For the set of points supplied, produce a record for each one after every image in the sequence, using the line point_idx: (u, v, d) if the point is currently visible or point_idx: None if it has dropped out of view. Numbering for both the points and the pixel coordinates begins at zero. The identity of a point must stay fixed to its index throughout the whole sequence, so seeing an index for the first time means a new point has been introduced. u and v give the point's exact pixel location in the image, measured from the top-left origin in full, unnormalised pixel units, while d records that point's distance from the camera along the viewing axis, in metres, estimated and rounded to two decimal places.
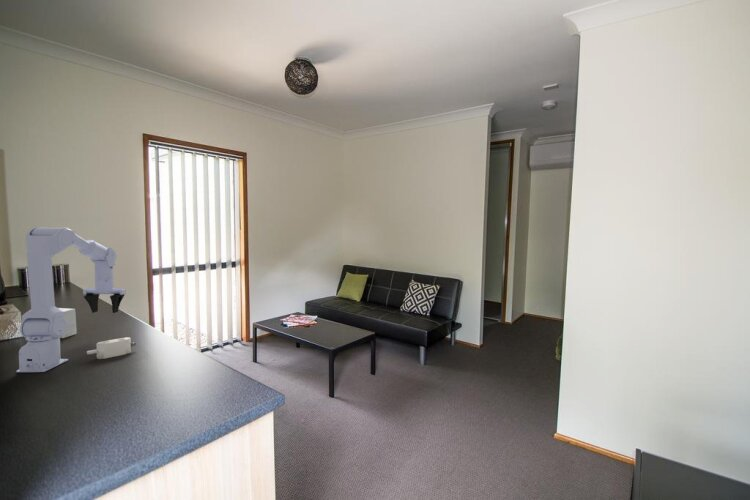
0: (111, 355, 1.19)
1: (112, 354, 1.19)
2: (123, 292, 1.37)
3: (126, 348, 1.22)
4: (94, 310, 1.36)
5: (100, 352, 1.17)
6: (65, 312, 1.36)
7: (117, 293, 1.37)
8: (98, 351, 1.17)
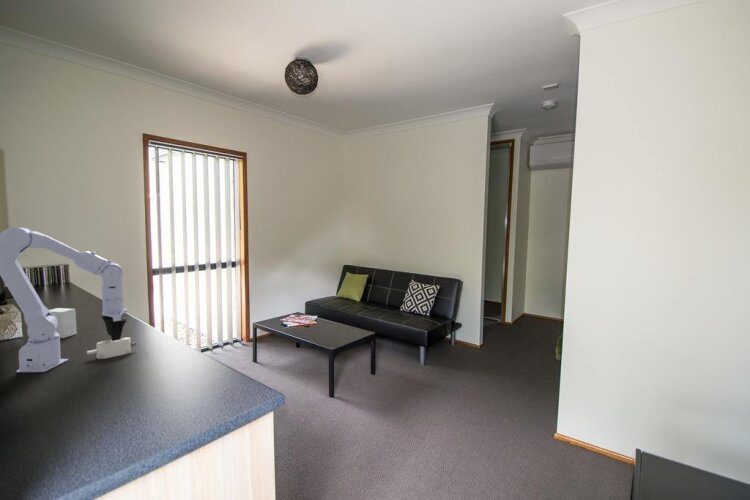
0: (111, 355, 1.19)
1: (112, 354, 1.19)
2: (116, 318, 1.14)
3: (126, 348, 1.22)
4: (110, 332, 1.22)
5: (100, 352, 1.17)
6: (65, 312, 1.36)
7: None
8: (98, 351, 1.17)
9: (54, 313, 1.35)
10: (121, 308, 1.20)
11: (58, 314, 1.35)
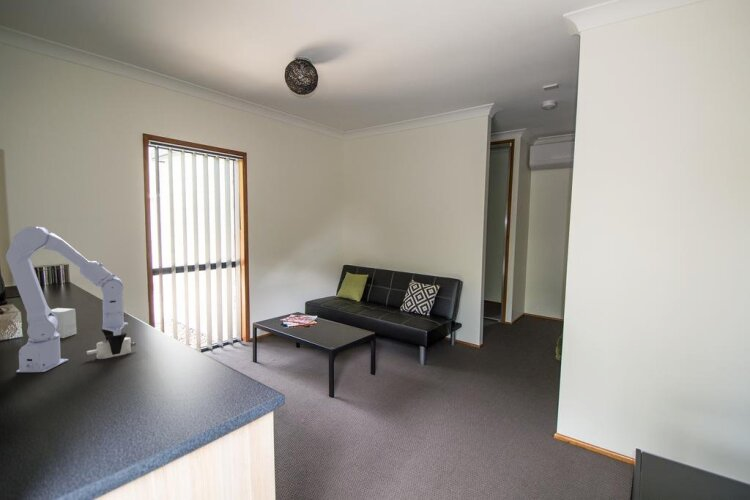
0: (111, 355, 1.19)
1: None
2: (116, 333, 1.15)
3: (126, 348, 1.22)
4: None
5: (100, 352, 1.17)
6: (65, 312, 1.36)
7: None
8: (98, 351, 1.17)
9: (54, 313, 1.35)
10: (121, 322, 1.20)
11: (58, 314, 1.35)
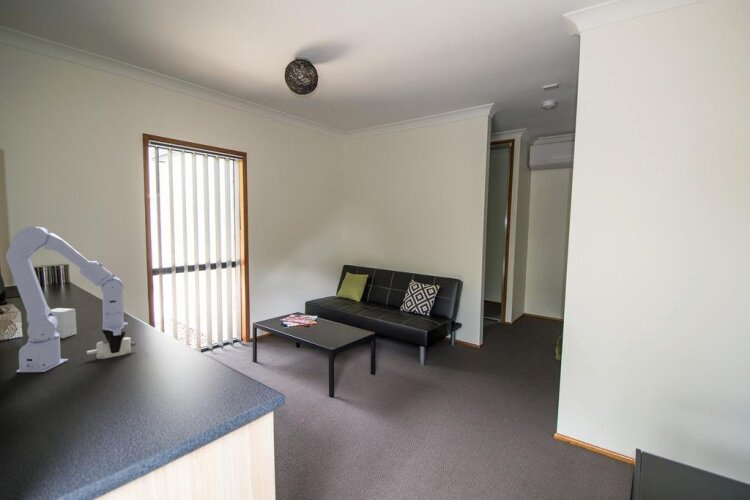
0: (111, 355, 1.19)
1: (112, 354, 1.19)
2: (116, 333, 1.15)
3: (126, 348, 1.22)
4: None
5: (100, 351, 1.17)
6: (65, 312, 1.36)
7: None
8: (98, 351, 1.17)
9: (54, 313, 1.35)
10: (121, 322, 1.20)
11: (58, 314, 1.35)
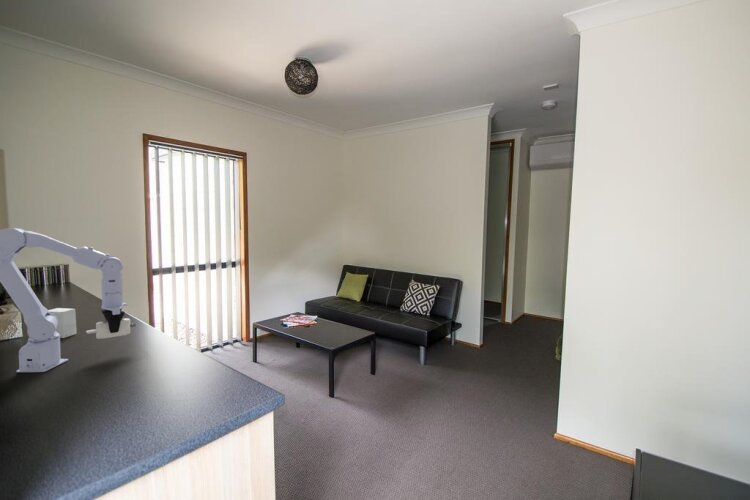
0: (111, 335, 1.18)
1: (112, 334, 1.19)
2: (115, 312, 1.14)
3: (125, 329, 1.21)
4: None
5: (100, 331, 1.16)
6: (65, 312, 1.36)
7: None
8: (98, 331, 1.16)
9: (54, 313, 1.35)
10: (120, 302, 1.19)
11: (58, 314, 1.35)
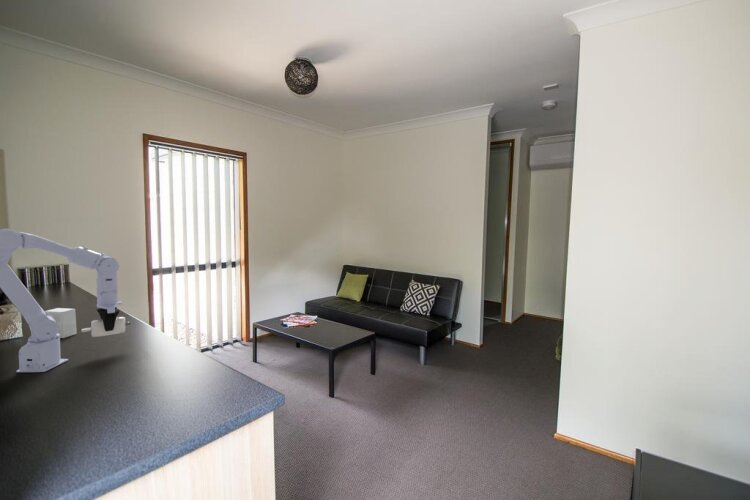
0: (106, 333, 1.20)
1: (107, 332, 1.20)
2: (110, 310, 1.16)
3: (120, 327, 1.23)
4: None
5: (95, 330, 1.18)
6: (65, 312, 1.36)
7: None
8: (93, 329, 1.18)
9: (54, 313, 1.35)
10: (115, 300, 1.21)
11: (58, 314, 1.35)
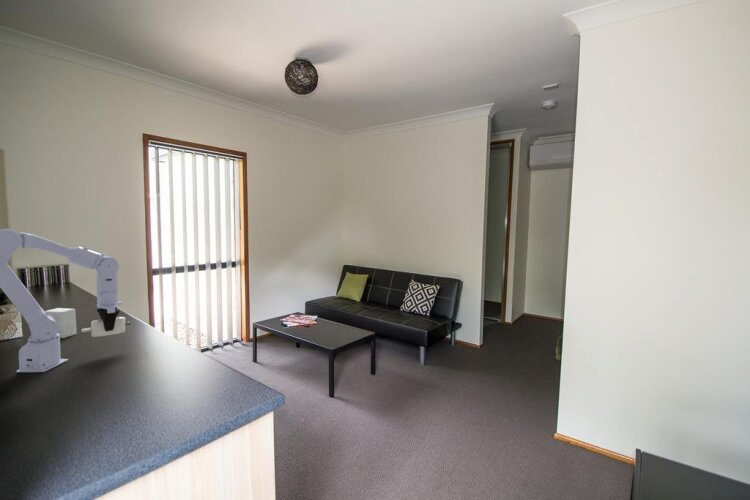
0: (106, 333, 1.20)
1: (107, 332, 1.20)
2: (110, 310, 1.16)
3: (120, 327, 1.23)
4: None
5: (95, 330, 1.18)
6: (65, 312, 1.36)
7: None
8: (93, 329, 1.18)
9: (54, 313, 1.35)
10: (115, 300, 1.21)
11: (58, 314, 1.35)
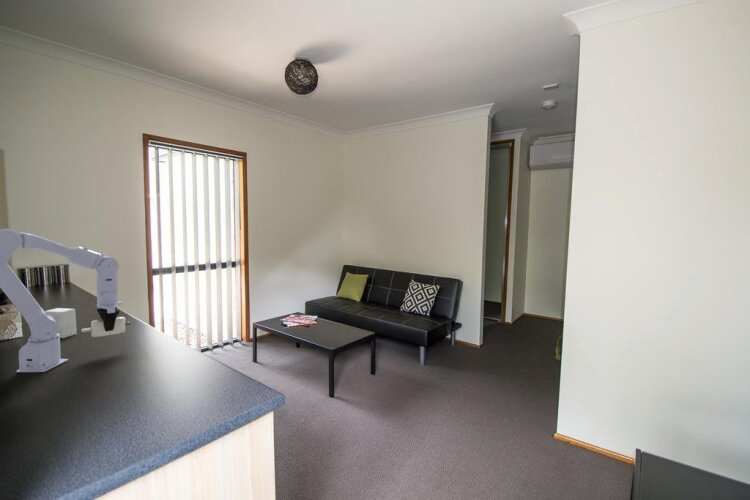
0: (106, 333, 1.20)
1: (107, 332, 1.20)
2: (110, 310, 1.16)
3: (120, 327, 1.23)
4: None
5: (95, 330, 1.18)
6: (65, 312, 1.36)
7: None
8: (93, 329, 1.18)
9: (54, 313, 1.35)
10: (115, 300, 1.21)
11: (58, 314, 1.35)
